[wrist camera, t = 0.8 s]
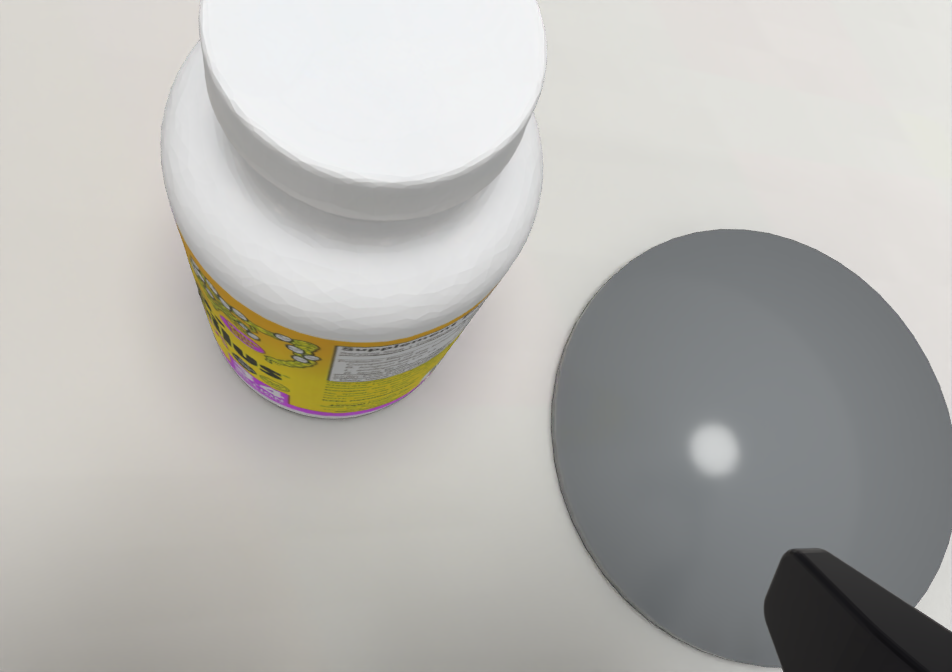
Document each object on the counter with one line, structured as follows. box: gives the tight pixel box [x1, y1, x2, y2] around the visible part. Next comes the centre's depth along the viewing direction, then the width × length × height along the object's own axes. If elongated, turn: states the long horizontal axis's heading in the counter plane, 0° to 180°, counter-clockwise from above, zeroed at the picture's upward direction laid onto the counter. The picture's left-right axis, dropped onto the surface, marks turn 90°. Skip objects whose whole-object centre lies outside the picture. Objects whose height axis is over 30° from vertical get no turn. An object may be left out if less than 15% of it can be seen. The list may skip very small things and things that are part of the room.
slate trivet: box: [552, 229, 952, 668], centre depth 24 cm, size 13×13×1 cm
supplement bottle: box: [161, 0, 547, 419], centre depth 17 cm, size 7×7×13 cm
